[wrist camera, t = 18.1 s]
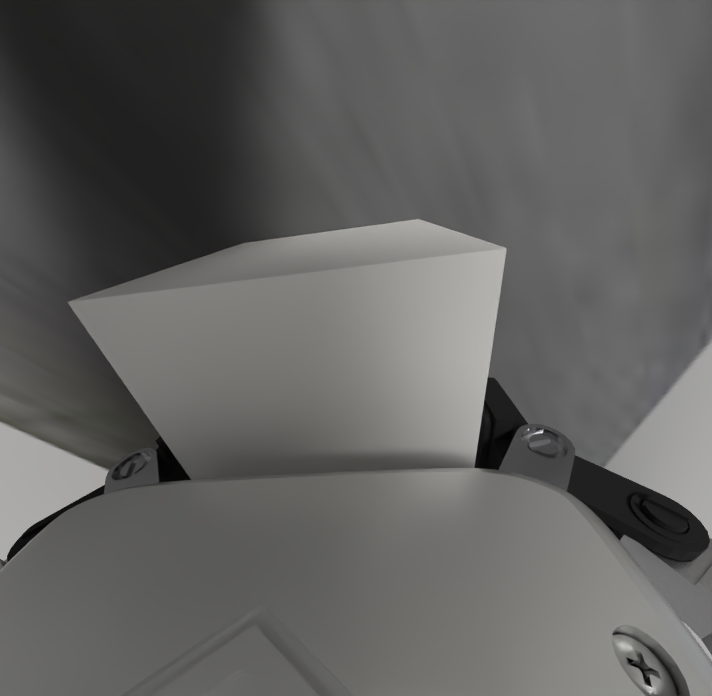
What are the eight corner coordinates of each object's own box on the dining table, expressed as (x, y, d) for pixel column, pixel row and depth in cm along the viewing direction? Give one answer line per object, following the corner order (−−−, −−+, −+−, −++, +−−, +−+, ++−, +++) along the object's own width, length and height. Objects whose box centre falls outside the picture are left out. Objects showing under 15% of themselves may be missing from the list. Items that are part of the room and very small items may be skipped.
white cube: (243, 243, 12) (66, 302, 5) (418, 219, 11) (506, 248, 4) (287, 381, 15) (223, 526, 8) (419, 370, 15) (466, 519, 8)
